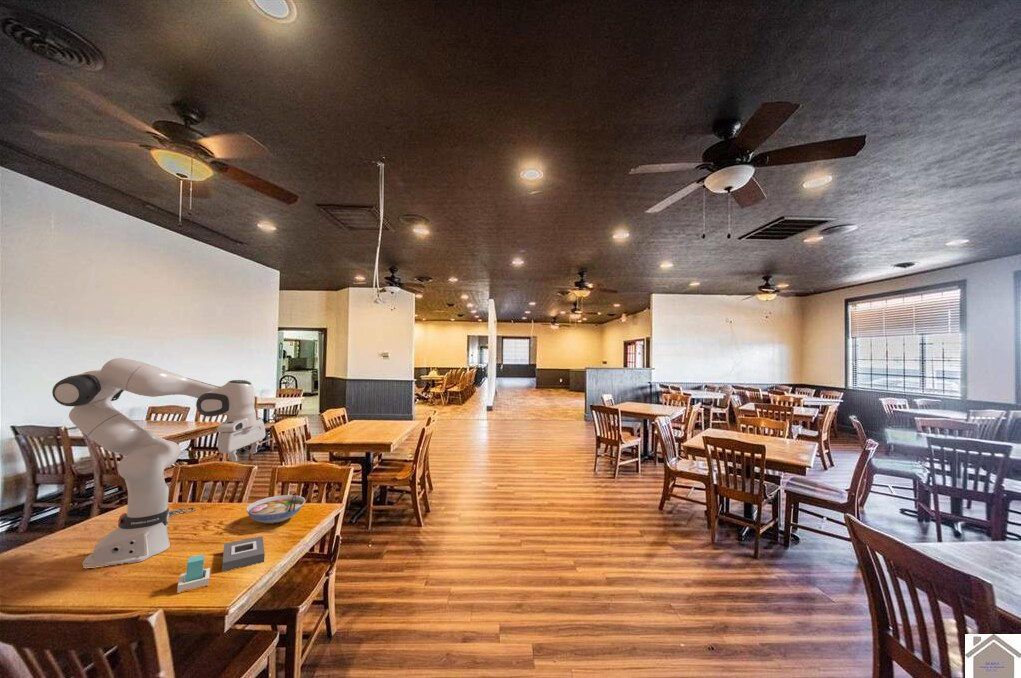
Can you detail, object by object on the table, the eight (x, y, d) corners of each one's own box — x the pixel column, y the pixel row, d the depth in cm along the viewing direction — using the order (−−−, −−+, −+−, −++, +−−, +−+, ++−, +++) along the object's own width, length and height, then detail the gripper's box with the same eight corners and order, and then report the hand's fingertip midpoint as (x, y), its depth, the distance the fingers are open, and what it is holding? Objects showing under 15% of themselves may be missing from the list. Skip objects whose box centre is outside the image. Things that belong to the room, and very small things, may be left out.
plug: (185, 589, 119) (187, 563, 119) (186, 583, 122) (188, 557, 123) (201, 585, 121) (203, 559, 122) (202, 579, 124) (204, 554, 125)
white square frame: (177, 594, 116) (177, 585, 117) (180, 582, 122) (180, 574, 123) (208, 586, 121) (208, 578, 121) (209, 575, 127) (210, 567, 127)
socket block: (222, 571, 129) (222, 561, 129) (223, 552, 142) (224, 542, 142) (264, 562, 136) (264, 552, 136) (262, 543, 149) (262, 535, 149)
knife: (131, 534, 152) (112, 529, 154) (131, 538, 152) (111, 533, 154) (201, 508, 180) (183, 505, 182) (200, 511, 180) (183, 508, 182)
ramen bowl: (250, 514, 177) (251, 496, 177) (306, 507, 186) (307, 490, 187) (238, 537, 154) (239, 516, 155) (302, 527, 164) (303, 508, 164)
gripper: (254, 415, 158) (256, 448, 158) (213, 428, 137) (215, 466, 138) (268, 415, 157) (270, 448, 158) (229, 428, 137) (232, 466, 137)
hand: (244, 457), depth 148 cm, fingers open, 8 cm apart
